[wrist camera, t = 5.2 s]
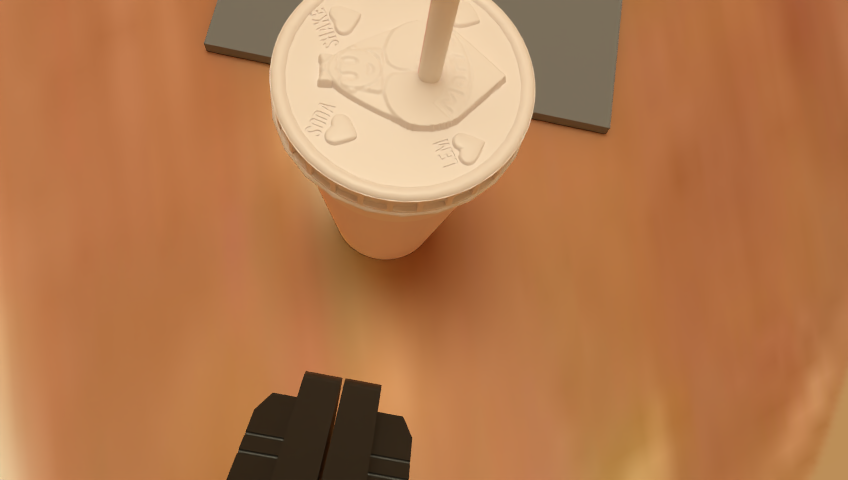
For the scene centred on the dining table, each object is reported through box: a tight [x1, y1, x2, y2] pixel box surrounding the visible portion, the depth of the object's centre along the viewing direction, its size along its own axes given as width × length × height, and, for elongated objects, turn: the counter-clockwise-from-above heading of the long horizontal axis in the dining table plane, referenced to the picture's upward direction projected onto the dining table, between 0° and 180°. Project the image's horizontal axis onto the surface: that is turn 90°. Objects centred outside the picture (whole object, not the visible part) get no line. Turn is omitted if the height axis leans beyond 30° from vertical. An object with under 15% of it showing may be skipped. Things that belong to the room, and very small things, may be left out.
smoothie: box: [270, 0, 535, 260], centre depth 18 cm, size 6×6×14 cm
